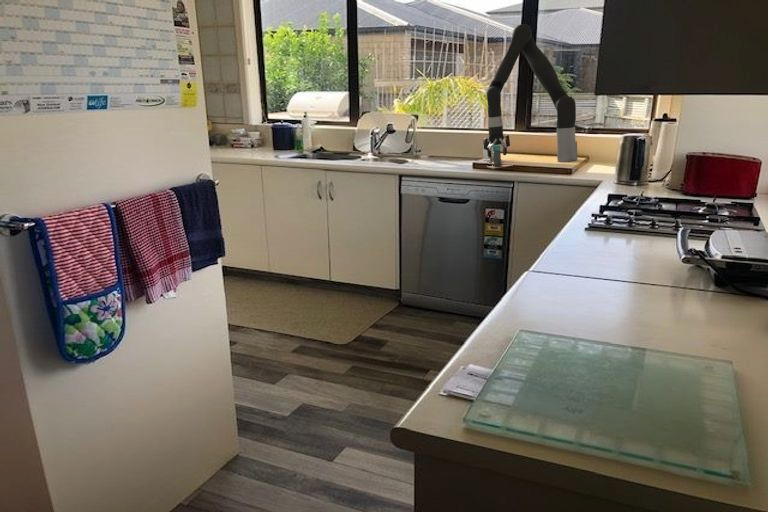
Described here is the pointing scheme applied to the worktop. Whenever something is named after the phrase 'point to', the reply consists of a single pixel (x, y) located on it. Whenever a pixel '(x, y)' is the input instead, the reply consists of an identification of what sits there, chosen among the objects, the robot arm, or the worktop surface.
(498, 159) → the marker
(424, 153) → the worktop surface
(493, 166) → the paper
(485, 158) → the jar
